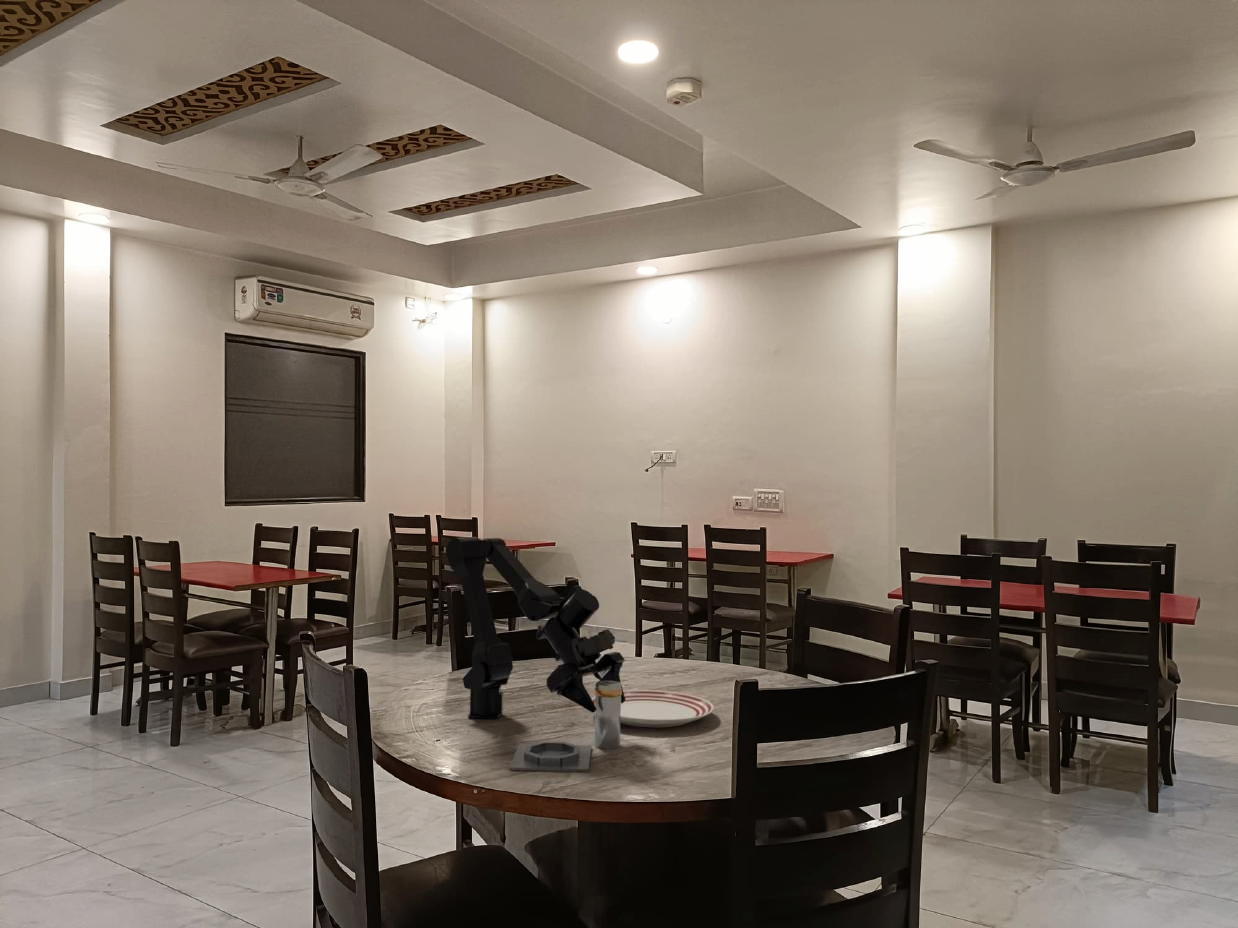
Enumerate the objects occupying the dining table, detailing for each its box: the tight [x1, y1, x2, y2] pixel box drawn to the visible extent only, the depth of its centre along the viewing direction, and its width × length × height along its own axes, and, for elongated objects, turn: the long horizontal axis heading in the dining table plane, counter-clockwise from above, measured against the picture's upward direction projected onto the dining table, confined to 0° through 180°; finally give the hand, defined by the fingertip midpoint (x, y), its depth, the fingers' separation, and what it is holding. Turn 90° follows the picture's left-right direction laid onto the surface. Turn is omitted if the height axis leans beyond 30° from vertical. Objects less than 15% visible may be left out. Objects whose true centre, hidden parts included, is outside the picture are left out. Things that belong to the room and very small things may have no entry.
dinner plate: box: [591, 689, 715, 729], centre depth 198 cm, size 28×27×3 cm
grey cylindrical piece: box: [594, 680, 623, 750], centre depth 176 cm, size 5×5×12 cm
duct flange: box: [508, 740, 593, 773], centre depth 167 cm, size 14×14×2 cm
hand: (609, 706), depth 176 cm, fingers open, 9 cm apart
